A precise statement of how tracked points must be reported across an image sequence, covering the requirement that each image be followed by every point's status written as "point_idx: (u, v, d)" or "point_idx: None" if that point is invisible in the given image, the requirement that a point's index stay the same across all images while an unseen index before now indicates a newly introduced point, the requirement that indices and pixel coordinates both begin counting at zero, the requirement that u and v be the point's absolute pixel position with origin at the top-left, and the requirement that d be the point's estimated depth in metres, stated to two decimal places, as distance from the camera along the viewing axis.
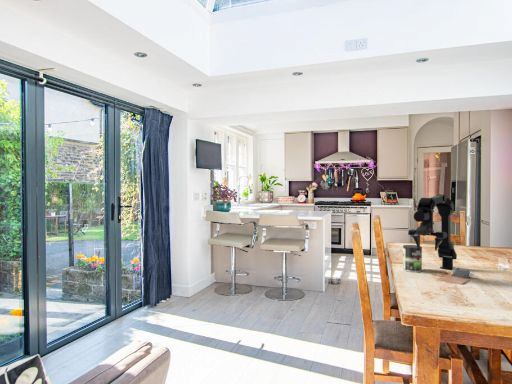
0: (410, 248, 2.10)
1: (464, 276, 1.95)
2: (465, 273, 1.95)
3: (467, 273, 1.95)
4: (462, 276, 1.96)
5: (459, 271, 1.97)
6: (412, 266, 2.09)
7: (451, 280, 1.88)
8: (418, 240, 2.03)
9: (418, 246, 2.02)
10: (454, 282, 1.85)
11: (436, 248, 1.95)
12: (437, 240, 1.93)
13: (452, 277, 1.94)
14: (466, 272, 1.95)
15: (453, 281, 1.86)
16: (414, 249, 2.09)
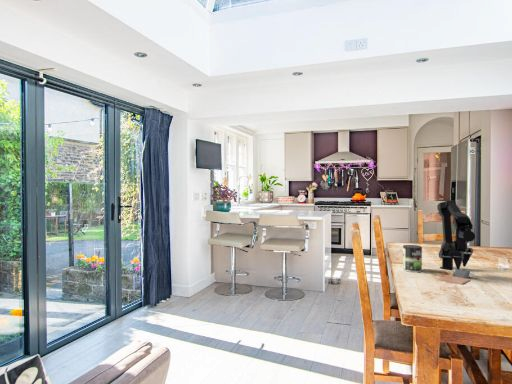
0: (410, 248, 2.10)
1: (464, 276, 1.95)
2: (465, 273, 1.95)
3: (467, 273, 1.95)
4: (462, 276, 1.96)
5: (459, 271, 1.97)
6: (412, 266, 2.09)
7: (451, 280, 1.88)
8: (464, 258, 2.01)
9: None
10: (454, 282, 1.85)
11: (456, 266, 1.95)
12: None
13: (452, 277, 1.94)
14: (466, 272, 1.95)
15: (453, 281, 1.86)
16: (414, 249, 2.09)
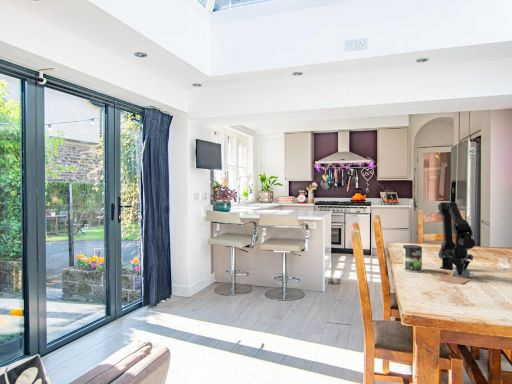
0: (410, 248, 2.10)
1: (464, 276, 1.95)
2: (465, 273, 1.95)
3: (467, 273, 1.95)
4: (462, 276, 1.96)
5: None
6: (412, 266, 2.09)
7: (451, 280, 1.88)
8: None
9: None
10: (454, 282, 1.85)
11: (458, 273, 1.97)
12: None
13: (452, 277, 1.94)
14: (466, 272, 1.95)
15: (453, 281, 1.86)
16: (414, 249, 2.09)
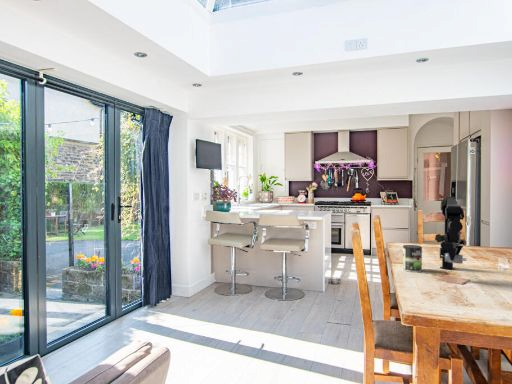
0: (410, 248, 2.10)
1: (457, 261, 1.88)
2: (458, 258, 1.87)
3: (460, 258, 1.87)
4: (454, 261, 1.88)
5: None
6: (412, 266, 2.09)
7: (451, 280, 1.88)
8: None
9: None
10: (454, 282, 1.85)
11: (450, 258, 1.89)
12: None
13: (452, 277, 1.94)
14: (459, 257, 1.87)
15: (453, 281, 1.86)
16: (414, 249, 2.09)
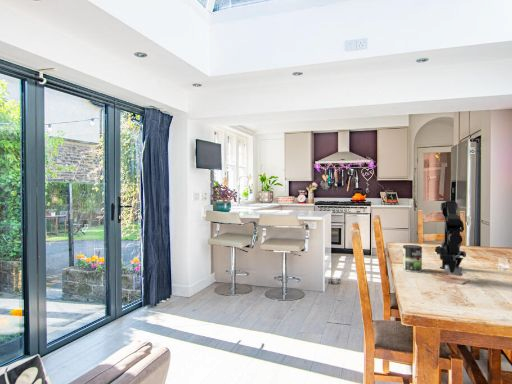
0: (410, 248, 2.10)
1: (456, 273, 1.88)
2: (457, 270, 1.88)
3: (459, 270, 1.87)
4: (454, 273, 1.89)
5: None
6: (412, 266, 2.09)
7: (451, 280, 1.88)
8: None
9: None
10: (454, 282, 1.85)
11: (450, 270, 1.89)
12: None
13: (452, 277, 1.94)
14: (458, 269, 1.87)
15: (453, 281, 1.86)
16: (414, 249, 2.09)
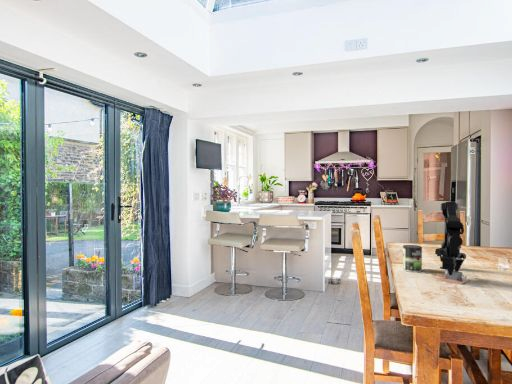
0: (410, 248, 2.10)
1: (456, 278, 1.88)
2: (457, 275, 1.88)
3: (459, 275, 1.87)
4: (454, 278, 1.89)
5: None
6: (412, 266, 2.09)
7: (451, 280, 1.88)
8: (456, 264, 1.93)
9: None
10: (454, 282, 1.85)
11: (449, 272, 1.88)
12: None
13: None
14: (458, 274, 1.87)
15: (453, 281, 1.86)
16: (414, 249, 2.09)
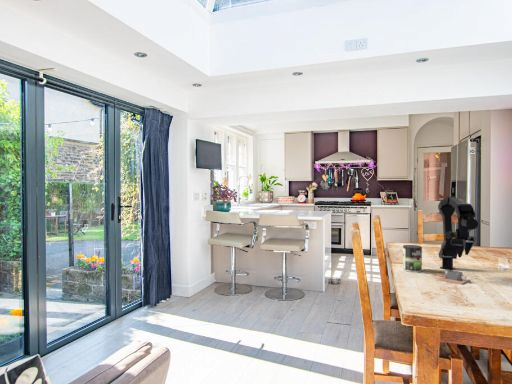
0: (410, 248, 2.10)
1: (456, 278, 1.88)
2: (457, 275, 1.88)
3: (459, 275, 1.87)
4: (454, 278, 1.89)
5: (451, 273, 1.90)
6: (412, 266, 2.09)
7: (451, 280, 1.88)
8: (467, 247, 1.99)
9: (465, 252, 2.00)
10: (454, 282, 1.85)
11: (458, 255, 1.93)
12: None
13: None
14: (458, 274, 1.87)
15: (453, 281, 1.86)
16: (414, 249, 2.09)
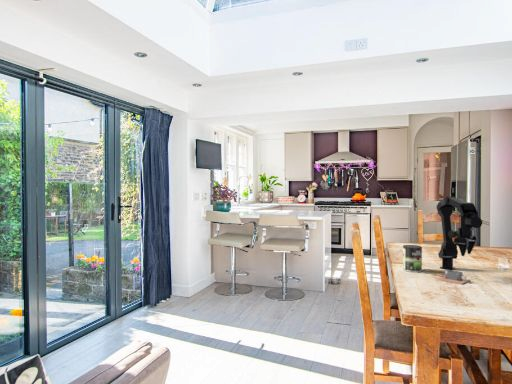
0: (410, 248, 2.10)
1: (456, 278, 1.88)
2: (457, 275, 1.88)
3: (459, 275, 1.87)
4: (454, 278, 1.89)
5: (451, 273, 1.90)
6: (412, 266, 2.09)
7: (451, 280, 1.88)
8: (469, 246, 2.00)
9: (467, 251, 2.01)
10: (454, 282, 1.85)
11: (461, 253, 1.94)
12: None
13: None
14: (458, 274, 1.87)
15: (453, 281, 1.86)
16: (414, 249, 2.09)
